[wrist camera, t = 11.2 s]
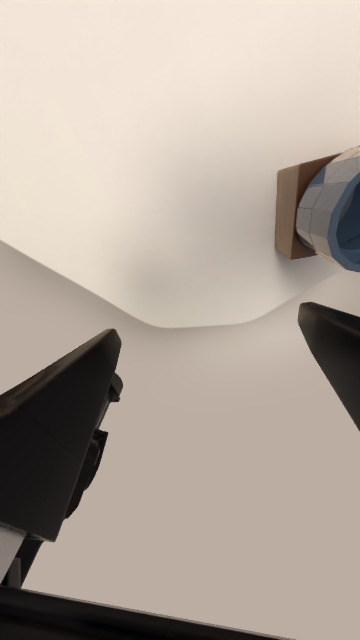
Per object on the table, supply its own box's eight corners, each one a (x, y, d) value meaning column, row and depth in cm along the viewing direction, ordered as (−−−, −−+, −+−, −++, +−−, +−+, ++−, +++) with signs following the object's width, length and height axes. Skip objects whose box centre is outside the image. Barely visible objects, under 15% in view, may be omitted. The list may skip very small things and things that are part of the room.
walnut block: (346, 234, 17) (381, 244, 14) (274, 248, 18) (290, 260, 15) (366, 147, 14) (418, 132, 10) (277, 170, 15) (299, 164, 12)
